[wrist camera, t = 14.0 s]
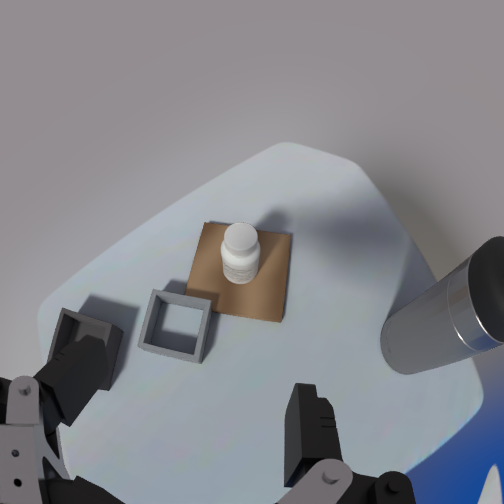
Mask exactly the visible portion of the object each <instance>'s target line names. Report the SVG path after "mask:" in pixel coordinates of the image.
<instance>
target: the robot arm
mask: <svg viewBox="0 0 504 504" xmlns="http://www.w3.org/2000/svg"><path fill="white" fill-rule="evenodd" d="M503 344H504V237H502V236H499V237H494V238H491V239H490V240H488V241H487V242H486V243H484V244H483V245H482V246H481V247H480V248H479V249H478V250H477V251H476V252H474V253H473V254H472V255H471V256H470V257H468V258H467V259H466V260H465V261H464V262H463V263H462V264H460V265H459V266H458V267H456V268H455V269H454V270H453V271H452V272H450V273H449V274H448V275H447V276H446V277H444V278H443V279H442V280H440V281H439V282H438V283H436V284H435V285H434V286H432V287H431V288H430V289H428V290H427V291H425V292H424V293H423V294H421V295H420V296H419V297H417V298H416V299H414V300H413V301H411V302H410V303H408V304H407V305H406V306H404V307H403V308H401V309H400V310H398V311H397V312H395V313H394V314H392V315H391V316H390V317H389V318H388V319H387V321H386V322H385V324H384V326H383V329H382V332H381V349H382V353H383V356H384V358H385V360H386V362H387V363H388V364H389V366H390V367H391V368H393V369H394V370H395V371H397V372H399V373H401V374H414V373H418V372H422V371H426V370H430V369H434V368H438V367H441V366H444V365H448V364H451V363H454V362H457V361H461V360H464V359H467V358H469V357H472V356H475V355H478V354H481V353H483V352H486V351H488V350H491V349H493V348H496V347H498V346H501V345H503ZM108 371H109V365H108V359H107V353H106V347H105V342H104V340H103V339H101V338H98V337H95V336H93V335H90V334H86V335H85V336H84V337H83V338H82V339H81V340H80V341H78V342H77V341H75V342H73V343H71V344H68V345H66V346H65V347H64V348H63V349H62V350H61V351H60V352H59V354H57V355H55V356H54V359H51V360H50V361H49V362H48V363H47V364H46V365H45V366H44V367H43V368H42V369H41V370H40V371H39V372H38V373H37V374H36V375H35V376H34V377H30V376H20V377H17V378H16V379H14V380H13V381H11V380H8V379H5V378H1V377H0V504H125V503H123V502H122V501H120V500H119V499H117V498H116V497H114V496H113V495H112V494H110V493H109V492H107V491H106V490H105V489H103V488H101V487H99V486H97V485H95V484H93V483H91V482H89V481H87V480H85V479H83V478H81V477H79V476H76V478H75V479H74V480H70V477H69V474H68V472H67V470H66V468H65V465H64V460H63V455H62V448H61V441H60V433H59V428H58V425H59V424H60V422H62V423H63V424H65V425H67V426H69V427H70V426H71V425H72V423H73V422H74V421H75V419H76V418H77V417H78V415H79V414H80V413H81V411H82V410H83V408H84V407H85V406H86V404H87V403H88V402H89V400H90V399H91V398H92V396H93V395H94V394H95V393H96V391H97V390H98V389H99V387H100V386H101V385H102V383H103V382H104V381H105V379H106V378H107V375H108ZM284 487H291V488H292V489H291V490H290V491H289V492H288V493H287V494H285V495H284V496H283V497H282V498H281V499H280V500H279V501H278V502H277V503H275V504H416V502H415V497H414V493H413V488H412V484H411V481H410V480H409V478H408V477H407V476H406V475H404V474H403V473H400V472H397V471H390V472H386V473H384V474H382V475H381V476H380V477H379V478H376V477H371V476H365V475H360V474H357V473H355V472H353V471H351V469H350V467H349V466H348V465H347V464H345V463H344V462H343V459H342V455H341V449H340V443H339V437H338V432H337V428H336V421H335V415H334V410H333V407H332V405H331V404H330V403H329V401H328V400H327V398H319V397H317V391H316V386H315V385H314V384H304V383H296V384H295V386H294V389H293V392H292V395H291V398H290V400H289V403H288V406H287V409H286V414H285V456H284Z"/></svg>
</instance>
